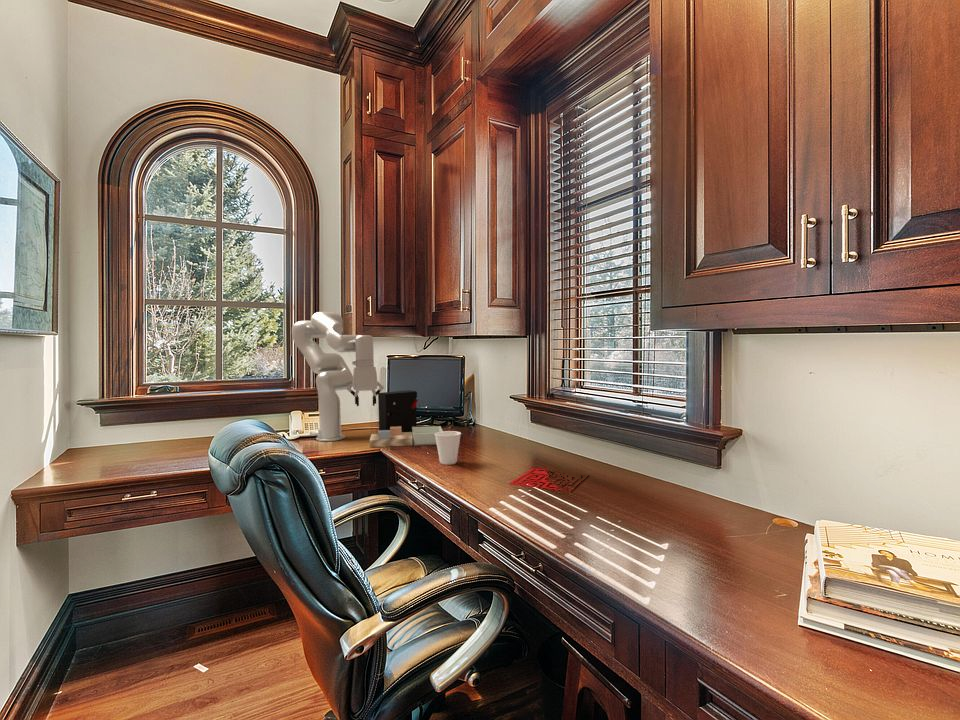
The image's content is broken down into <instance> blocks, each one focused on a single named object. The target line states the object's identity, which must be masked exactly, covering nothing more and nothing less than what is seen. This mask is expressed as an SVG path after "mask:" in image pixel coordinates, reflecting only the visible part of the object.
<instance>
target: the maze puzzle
mask: <svg viewBox="0 0 960 720" xmlns="http://www.w3.org/2000/svg"><path fill="white" fill-rule="evenodd" d="M534 469H535V470H534ZM539 470H544V471H539ZM545 470H546V469H542V468H531V469H530V470H528V471H526V472H525V473H523V474H522V475H520V476H519V477H517V478H515V479H514V480H512V481H511V482H510V483H509V485H515V486H521V487H527V486H528V487H529V488H534V487H538V488H540V489H542V488H546V489H545V490H549V489H554V490H553V491H557V490H562V489H557V488H558V487H557V486H556V484H554V485H555V486H554V485H553V484H552V485H553V486H552V485H551V484H549V483H553V482H549V481H551V479H550V480H549V481H548V478H547V477H548V476H549V475H548V474H547V472H546V471H545ZM531 471H532V472H531ZM532 473H535V474H532ZM527 474H528V475H527ZM539 474H544V475H539ZM525 475H526V476H525ZM533 475H538V476H537V477H536V476H533ZM547 475H548V476H547ZM522 477H523V478H522ZM541 477H542V478H541ZM527 478H528V479H527ZM540 478H541V479H540ZM546 478H547V479H546ZM530 479H534V480H530ZM538 479H539V480H538ZM545 479H546V480H545ZM524 480H526V481H524ZM532 481H536V482H532ZM552 481H554V479H552ZM525 482H527V483H525ZM540 482H544V483H540ZM533 483H537V484H533ZM526 484H528V485H526ZM548 484H549V485H548ZM540 485H541V486H540ZM547 485H548V486H547ZM539 486H540V487H539ZM549 487H557V488H549ZM564 490H565V489H564ZM568 490H569V491H570V489H568ZM565 491H566V490H565Z"/></svg>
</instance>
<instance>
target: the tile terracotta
mask: <svg viewBox="0 0 960 720" xmlns="http://www.w3.org/2000/svg"><path fill="white" fill-rule="evenodd" d="M390 435H402V429H401V426H399V427H390Z"/></svg>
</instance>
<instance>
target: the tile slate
mask: <svg viewBox="0 0 960 720" xmlns="http://www.w3.org/2000/svg"><path fill="white" fill-rule="evenodd" d="M377 434H378V440H379V439H390V430H379V429H378V430H377Z"/></svg>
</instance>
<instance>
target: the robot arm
mask: <svg viewBox="0 0 960 720" xmlns="http://www.w3.org/2000/svg"><path fill="white" fill-rule="evenodd" d="M343 322H344V319H343V317H342V316H341V314H339V313H337V312H335V311H334V312H333V311H317V312H315V313H314V314H313V315H312V316H311V318H310V320H299V321H296V322H295V323H294V324H292V327H291V336H292V340H293V342H294V344H295V346H296V347H297V348H298V350H299V351H300V352H301V354H302V355H303V356H304V358H305V361H306V362H307V364H308V365H309V367H310V370H312V372H313V373H314V374H317V375H316V378H315V385H316V389H317V398H318V412H319V413H318V417H319V420H318V422H319V423H318V424H319V429H317V430H310V431H309V436H316V440H317V441H319V442H335V441H340V440H344V439H345V435H344V434H343V433H342V424H341V421H342V419H341V399H340V397H339V395H338V393H337V391H346V390H347V391H348V392H349V393H350V394H351V395H352V396H353V397H354V405H356V407H359V406H360V397H359V393H360V392H361V391H362V392H363V391H364V392H366V391H367V392H368V391H370V392H371V393H372V394H373V395H372V406H373V407H375V406H376V405H377V396H378V394H379V393H382V391H383V389H384V386H383V385H382V384H381V383H380V382H379V381H378V374H377V368H376V366H375V364H374V363H375V362H374V361H375V359H374V337H373V335H370V334H369V335H368V334H365V335H364V334H362V335H361V334H343V333H344V326H343ZM313 339H325V340H326V342H327V343H326V344H327V345H328V346H329V347H330V348H331V349H333V350H334V351H336V352H338V353H355V360H354V361H351V362H352V363H351V365H352V366H353V365H354V366H355V367H353V372H352V371H351V370H350V368H349V366H348V365H347V363H346V360H345V359H344V358H343V357H342V356H341V355H340V354H338V353H333V352H330V353H326V352H324V351H323V349H322V348H321V346H320V345H319V344H318V342H316V341H314V340H313ZM378 387H379V388H378ZM377 388H378V389H377Z"/></svg>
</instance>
